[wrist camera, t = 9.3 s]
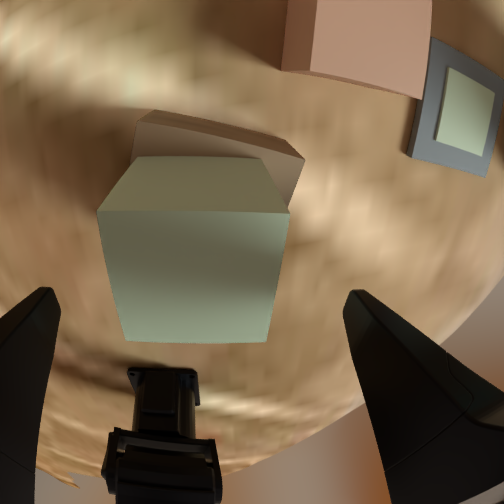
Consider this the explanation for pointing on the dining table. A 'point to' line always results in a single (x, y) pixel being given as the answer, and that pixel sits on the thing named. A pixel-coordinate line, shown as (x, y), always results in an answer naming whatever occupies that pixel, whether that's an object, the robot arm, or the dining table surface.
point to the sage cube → (194, 248)
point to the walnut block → (216, 145)
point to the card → (457, 112)
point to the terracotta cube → (360, 42)
